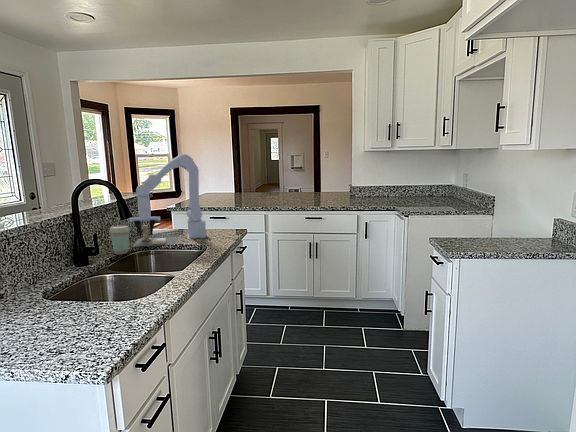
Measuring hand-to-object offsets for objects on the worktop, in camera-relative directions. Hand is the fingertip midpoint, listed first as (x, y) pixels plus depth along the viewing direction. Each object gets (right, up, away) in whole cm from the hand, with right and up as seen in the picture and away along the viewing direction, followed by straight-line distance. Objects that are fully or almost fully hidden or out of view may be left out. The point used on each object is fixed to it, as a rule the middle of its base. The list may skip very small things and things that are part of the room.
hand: (146, 235), depth 195 cm
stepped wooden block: (0, -3, +1) cm, 3 cm away
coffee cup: (-4, -7, -20) cm, 22 cm away
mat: (+5, -4, 0) cm, 6 cm away
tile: (+7, -2, -1) cm, 8 cm away
